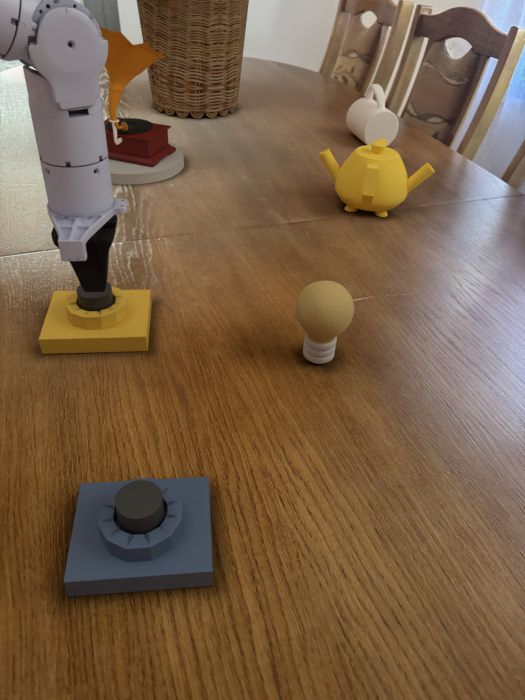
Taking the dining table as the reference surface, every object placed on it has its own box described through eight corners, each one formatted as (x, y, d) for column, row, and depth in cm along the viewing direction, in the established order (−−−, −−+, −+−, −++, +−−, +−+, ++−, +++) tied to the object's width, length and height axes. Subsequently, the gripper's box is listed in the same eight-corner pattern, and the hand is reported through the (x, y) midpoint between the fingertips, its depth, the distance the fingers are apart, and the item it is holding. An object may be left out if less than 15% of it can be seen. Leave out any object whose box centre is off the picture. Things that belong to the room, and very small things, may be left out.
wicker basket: (141, 84, 157) (129, -64, 136) (266, 92, 157) (273, -54, 136) (109, 123, 129) (89, -54, 108) (261, 132, 129) (269, -43, 108)
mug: (361, 150, 123) (370, 92, 116) (343, 135, 131) (350, 79, 123) (395, 148, 125) (406, 91, 118) (375, 133, 133) (385, 78, 125)
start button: (115, 536, 43) (112, 520, 42) (119, 496, 46) (117, 481, 44) (163, 532, 43) (161, 517, 42) (164, 494, 46) (163, 478, 45)
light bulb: (282, 345, 68) (289, 274, 62) (330, 336, 70) (341, 266, 64) (304, 379, 63) (313, 306, 57) (354, 368, 65) (368, 296, 59)
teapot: (426, 195, 106) (441, 135, 99) (421, 236, 92) (438, 170, 85) (322, 178, 109) (329, 119, 102) (303, 216, 96) (309, 151, 89)
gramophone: (154, 192, 101) (142, 35, 85) (56, 173, 105) (27, 20, 90) (200, 155, 116) (198, 16, 100) (113, 140, 121) (97, 5, 105)
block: (67, 597, 43) (58, 569, 40) (84, 498, 50) (77, 469, 47) (213, 586, 44) (212, 558, 41) (209, 491, 51) (208, 462, 48)
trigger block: (41, 354, 64) (34, 326, 62) (57, 305, 72) (51, 278, 70) (147, 351, 66) (145, 323, 63) (151, 303, 74) (149, 277, 71)
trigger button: (76, 313, 65) (73, 298, 64) (81, 294, 68) (78, 279, 67) (111, 312, 65) (109, 297, 64) (115, 293, 69) (113, 279, 67)
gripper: (114, 189, 43) (130, 329, 52) (127, 128, 55) (139, 252, 63) (19, 189, 43) (52, 331, 51) (52, 127, 54) (74, 253, 62)
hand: (95, 288), depth 57 cm, fingers closed
